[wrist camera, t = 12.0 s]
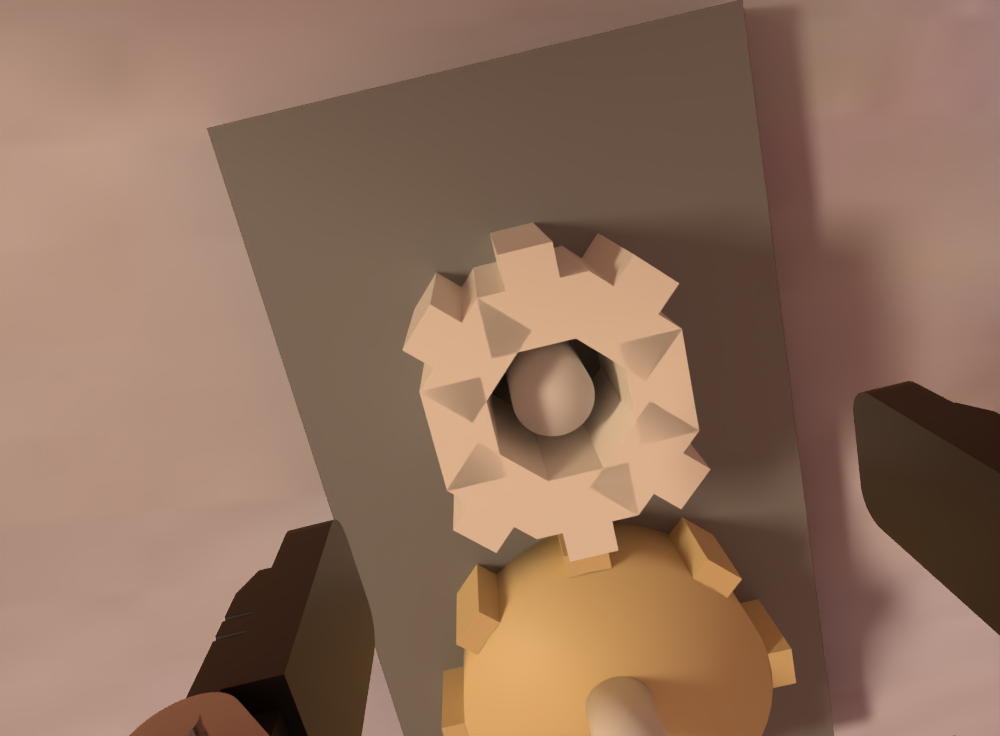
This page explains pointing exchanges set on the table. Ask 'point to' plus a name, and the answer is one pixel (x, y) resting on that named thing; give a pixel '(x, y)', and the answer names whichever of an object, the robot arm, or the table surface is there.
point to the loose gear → (618, 385)
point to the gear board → (572, 184)
